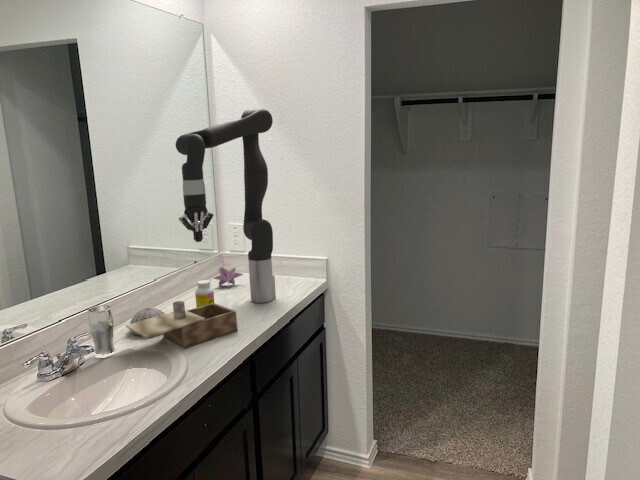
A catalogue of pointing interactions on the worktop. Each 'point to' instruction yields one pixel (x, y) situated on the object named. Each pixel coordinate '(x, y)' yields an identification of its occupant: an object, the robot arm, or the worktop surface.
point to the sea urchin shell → (145, 315)
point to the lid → (165, 321)
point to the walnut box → (204, 326)
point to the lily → (227, 276)
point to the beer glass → (101, 328)
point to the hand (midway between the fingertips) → (198, 241)
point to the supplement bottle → (204, 293)
